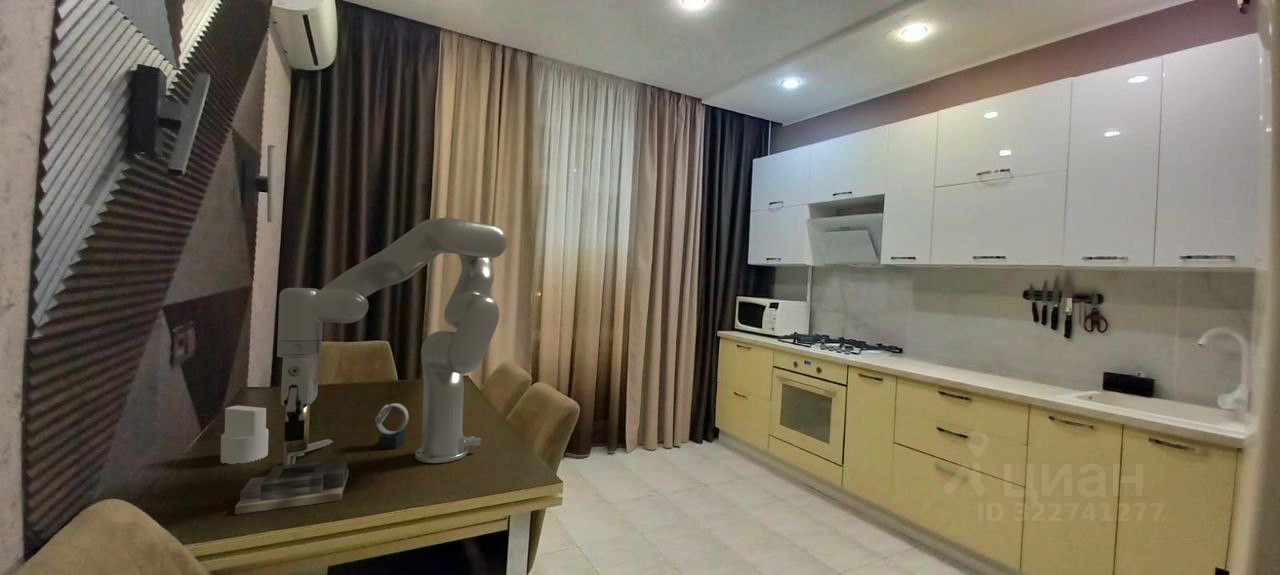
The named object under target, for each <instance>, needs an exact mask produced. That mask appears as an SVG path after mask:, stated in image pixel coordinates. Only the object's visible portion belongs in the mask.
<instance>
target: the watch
mask: <svg viewBox="0 0 1280 575" xmlns="http://www.w3.org/2000/svg"><path fill="white" fill-rule="evenodd" d="M392 407H393V408H397V409H399V410H400V411H401V412H402V413H403V420H402V422H401V424H400V426H399V427H398V429H397V430H396V429H395V430H394V429H391V430H390V429H389V430H388V429H386V428H385V427H384V425H383V422H384V420H385V419H386V418H387V417H388V416H389V414H390V413H391V410H392ZM409 416H410V415H409V411H408V409H407V408H406V407H405V406H404V405H403V404H401V403H398V402H397V403H396V402H393V403H390V404H385V405H384V406H382V407H381V409H380V411H379V412H378V413H377V415H376V417H375V419H374V421H375V425H376V428H377V430H378V431H379V432H380V433H382V434H380V436H379V437H378V449H379V448H395V449H394V450H396V449H397V448H398V446H399V447H400V446H401V445H402V444H403V443H405V432H406V431H405V430H404V429H405V427H406V425H407V424H408V422H409V419H410V418H409Z"/></svg>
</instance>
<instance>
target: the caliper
mask: <svg viewBox="0 0 1280 575" xmlns="http://www.w3.org/2000/svg"><path fill="white" fill-rule="evenodd" d="M333 442H334V441H333V440H331V439H328V438H327V439H324V440H320V441H315V442H312V443H308V449H307V450H304V451H301V452H295V453H287V452H284V451H283V455H282V465H291V464H296V460H297V458H301V457H304V456H305V453H307V452H311V451H314V450H317V449H320V448H324V447H328V446H329V445H330V444H331V443H333ZM327 445H328V446H327Z"/></svg>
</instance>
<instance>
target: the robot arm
mask: <svg viewBox="0 0 1280 575" xmlns="http://www.w3.org/2000/svg"><path fill="white" fill-rule="evenodd" d="M507 244H508V240H507V236H506V234H505V232H504V231H503V229H501V228H500V227H498V226H496V225H493V224H489V223H488V224H487V223H482V222H475V221H471V220H465V219H460V218H454V217H453V218H452V217H439V218H438V217H437V218H429V219H425V220H423V221H422V222H420V223H418V224H417V225H416V226H414V227H413V228H412V229H410V230H409V231H407V232H406V233H405V234H403V235H402V236H401V237H399V238H398V239H396V240H394V242H392V243H391V244H390V245H388V246H386V247H385V248H383V249H382V250H380V251H379V252H377V253H376V254H373V255H372V256H370V257H368V258H367V259H365V260H363V261H361V262H360V263H358V264H356V265H355V266H352V267H351V268H349V269H348V270H346V271H345V272H343V273H341V274H340V275H338V276H337V277H336V278H335V279H333V280H332V281H331V282H329V283H327V285H325V286H323V287H322V288H321V289H319V288H311V287H287V288H284V289H282V290H281V291H280V292H279V299H278V300H279V301H278V324H277V326H278V327H277V347H276V348H277V354H276V355H277V357H279V358H283V359H282V369H281V384H280V388H281V389H280V405H281V406H282V407H284V408H285V419H286V421H285V420H284V421H285V422H284V437H283V438H284V440H283V441H284V442H285V441H299V440H303V439H304V426H305V420H303V411H304V404H306V406H309V405H310V406H311V404H312V403H314V402H315V400H316V398H317V397H318V391H319V389H318V385H319V382H318V381H319V380H318V379H319V378H318V356H321V355H322V351H323V327H324V326H323V324H324V323H325V322H326V323H338V324H339V323H340V324H352V323H356V322H358V321H360V320H361V319H363V318H364V317H365V316H366V314H367V313H368V310H369V301H368V299H367V297H369V296H370V295H372V294H374V293H375V292H377V291H379V290H382V289H384V288H387V287H390V286H393V285H397V284H399V283H402V282H404V281H407V280H408V279H410V278H411V277H412V276H414V275H415V274H417V272H419V271H420V270H422V269H423V268H424V267H425V266H426V265H428V264H429V263H430V262H431V261H432V260H434V259H435V258H436V257H437V256H439V255H441V254H456V255H457V256H458V257H459V259H460V264H461V272H460V275H459V277H458V281H457V282H456V284H455V286H454V289H453V291H452V292H451V295H450V297H449V299H448V302H447V304H446V306H445V308H444V313H443V317H444V321H445V323H446V324H447V325H449V326H450V327H452V328H455V329H456V331H455V332H454V331H450V330H449V331H448V330H440V331H439V330H438V331H434V332H433V333H431V334H429V335H428V336H427V337H426V338H425V340H424V341H423V343H422V345H421V350H420V358H421V364H422V372H423V394H422V396H423V398H422V402H423V403H422V433H421V435H422V436H421V447H419V448H418V449H416V450H415V452H414V458H415V459H416V460H417V461H419V462H421V463H427V464H442V463H443V464H444V463H449V462H455V461H457V460H460V459H462V458H464V457H466V455H468V453H469V446H470V447H471V446H481V445H482V438H481V437H476V436H475V435H473V436H471V435H470V436H465V435H464V431H463V419H464V418H463V417H464V413H463V412H464V390H465V387H464V386H465V385H464V382H465V381H464V374H465V375H466V374H469V373H471V372H473V371H475V369H477V368H478V367H479V365H480V364H481V363H482V361H483V359H484V357H485V355H486V352H487V350H488V348H489V345H490V343H491V342H492V341H491V340H492V338H493V336H494V334H495V333H496V332H495V331H496V329H497V327H498V323H499V320H500V310H499V305H498V304H497V302H496V300H495V299H494V298H492V297H491V296H489V294H490V291H491V290H492V286H493V283H494V280H495V279H494V278H495V272H494V266H493V264H492V260H491V259H495V258H498V257H500V256H501V255H502V254H503V253H504V252H505V251H506V249H507V246H508V245H507ZM297 402H301V405H296V403H297ZM286 406H287V407H286ZM296 408H300V410H296Z"/></svg>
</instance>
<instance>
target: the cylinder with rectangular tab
mask: <svg viewBox="0 0 1280 575" xmlns="http://www.w3.org/2000/svg"><path fill="white" fill-rule="evenodd" d="M268 454H269V429H268V428H267V408H266V407H256V406H247V405H233V406H229V407H225V409H224V433H222V434H221V435H220V463H222V464H224V463H227V464H226V465H237V464H236V463H241V464H245V463H246V462H247V463H251V461H252V462H255V460H256V461H258V459H259V460H262V459H264V458H266V457H267V456H268ZM261 458H262V459H261ZM228 463H229V464H228ZM247 463H246V464H247Z"/></svg>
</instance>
